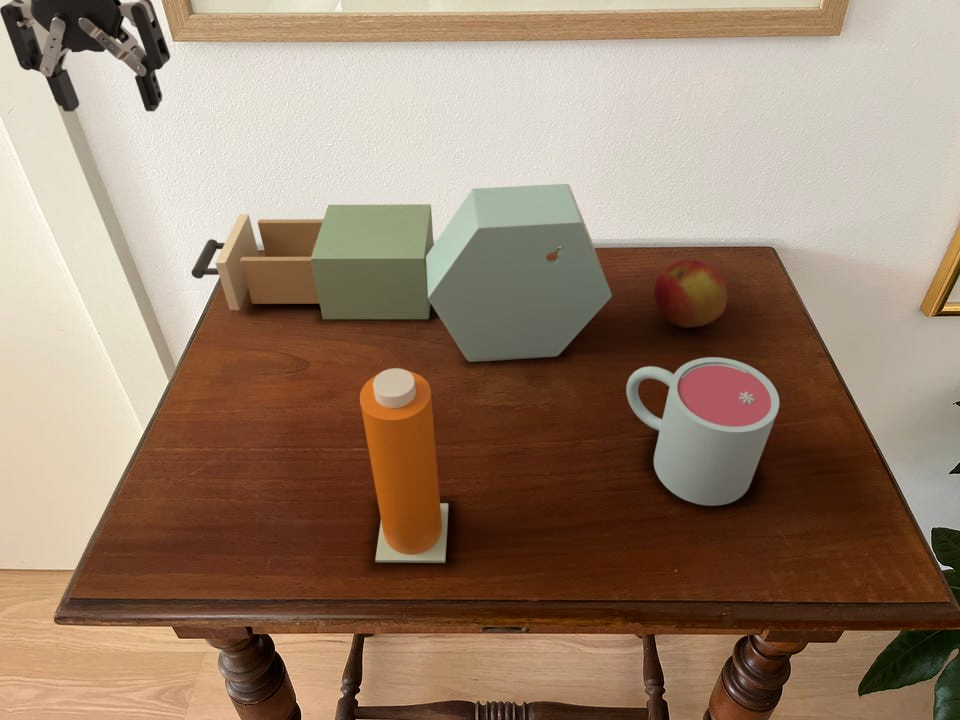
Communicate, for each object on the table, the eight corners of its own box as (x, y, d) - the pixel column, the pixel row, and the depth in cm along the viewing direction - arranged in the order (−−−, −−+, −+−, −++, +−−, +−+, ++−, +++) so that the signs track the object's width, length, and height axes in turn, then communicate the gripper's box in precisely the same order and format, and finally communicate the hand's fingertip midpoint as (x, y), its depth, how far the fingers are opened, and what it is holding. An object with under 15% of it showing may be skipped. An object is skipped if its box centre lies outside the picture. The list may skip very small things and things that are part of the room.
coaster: (375, 562, 62) (375, 560, 62) (383, 505, 67) (383, 502, 67) (445, 563, 62) (445, 560, 62) (448, 505, 67) (448, 503, 66)
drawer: (195, 310, 87) (178, 262, 83) (219, 260, 95) (205, 214, 91) (325, 310, 87) (316, 262, 82) (339, 259, 95) (331, 213, 90)
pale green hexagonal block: (521, 344, 90) (629, 218, 79) (530, 387, 84) (647, 258, 74) (401, 291, 83) (501, 144, 72) (402, 334, 77) (510, 182, 67)
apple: (671, 293, 90) (682, 238, 85) (731, 320, 86) (746, 264, 81) (637, 322, 86) (647, 266, 81) (698, 352, 82) (712, 295, 77)
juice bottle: (372, 541, 64) (343, 394, 51) (402, 497, 67) (382, 350, 55) (424, 563, 62) (407, 417, 50) (452, 517, 65) (442, 370, 53)
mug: (768, 461, 70) (797, 387, 63) (723, 522, 65) (749, 449, 58) (645, 397, 77) (659, 324, 70) (595, 447, 72) (606, 374, 65)
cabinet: (322, 319, 87) (310, 258, 81) (338, 263, 96) (328, 204, 90) (428, 319, 87) (424, 258, 81) (434, 263, 96) (430, 204, 90)
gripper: (-52, -57, 62) (28, 124, 73) (112, -59, 62) (168, 123, 73) (-7, -76, 68) (61, 95, 79) (143, -78, 68) (191, 94, 79)
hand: (113, 108), depth 76 cm, fingers open, 8 cm apart
